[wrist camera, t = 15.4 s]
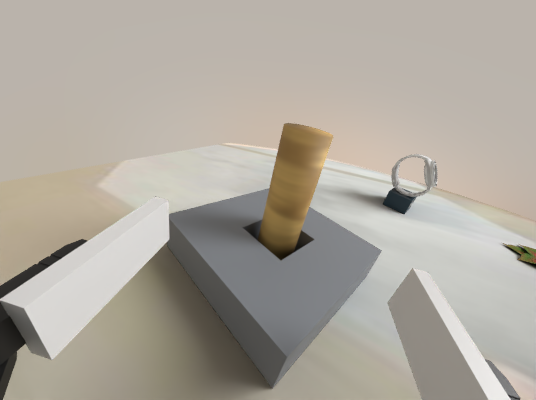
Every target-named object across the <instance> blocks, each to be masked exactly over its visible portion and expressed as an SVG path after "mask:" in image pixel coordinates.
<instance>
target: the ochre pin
mask: <svg viewBox="0 0 536 400" xmlns="http://www.w3.org/2000/svg"><path fill="white" fill-rule="evenodd" d="M332 139H333V135H331V134H330V133H327V132H325V131H322V130H319V129H316V128H312V127H309V126H304V125H299V124H291V123H286V124H284V127H283V131H282V135H281V140H280V144H279V148H278V153H277V157H276V162H275V166H274V170H273V175H272V179H271V184H270V188H269V192H268V197H267V201H266V206H265V210H264V214H263V219H262V223H261V228H260V232H259V236H258V241H259V242H260V243H261V244H262V245H263V246H264V247H266V248H267V249H268V250H269V251H270V252H271V253H273V254H274V255H275V256H276V257H277V258H278V259H280V260H283V259H284V258H286V257H287V256H289V255H291V254H292V253H294V250H295V247H296V244H297V241H298V238H299V235H300V232H301V229H302V226H303V224H304V221H305V218H306V215H307V212H308V209H309V206H310V203H311V200H312V197H313V194H314V191H315V188H316V185H317V183H318V180H319V177H320V174H321V171H322V168H323V165H324V162H325V159H326V156H327V153H328V150H329V147H330V144H331V141H332Z"/></svg>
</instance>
